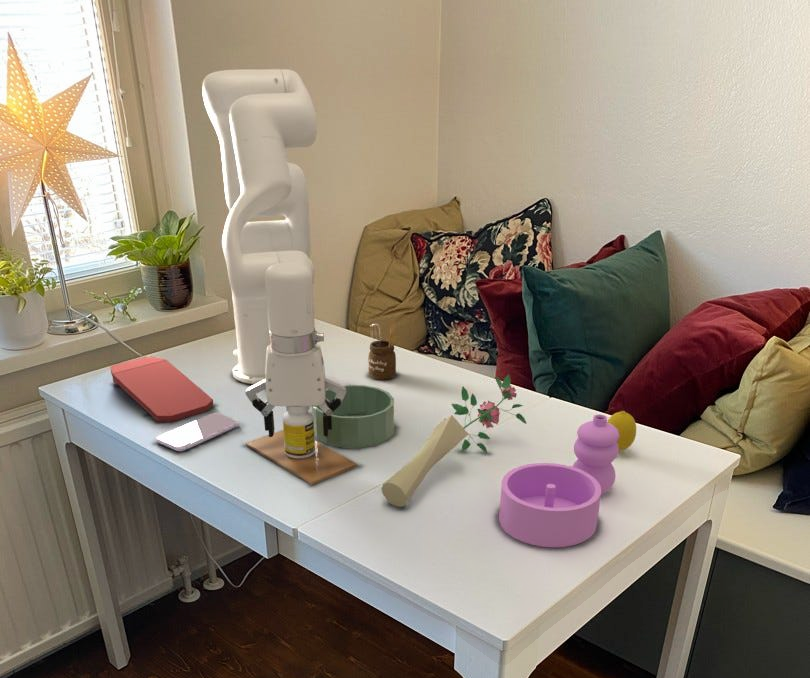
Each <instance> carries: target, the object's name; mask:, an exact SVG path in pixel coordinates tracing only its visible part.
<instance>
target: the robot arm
mask: <svg viewBox="0 0 810 678" xmlns="http://www.w3.org/2000/svg"><path fill="white" fill-rule="evenodd" d="M201 89H202V98H203V103H204V107H205V109H206V112H207V115H208V117H209V119H210V122H211V123H212V125H213V127H214V130H215V132H216V135H217V138H218V141H219V147H220V154H221V155H220V156H221V164H222V166H221V167H222V177H223V185H224V195H225V201H226V205H227V208H228V211H229V213H228V214H227V218H226V220H225V223H224V228H223V233H222V236H221V238H222V239H221V246H222V252H223V256H224V259H225V264H226V270H227V277H228V281H229V286H230V289H231V298H232V307H233V317H234V325H235V336H236V345H237V349H234V350H233V352H232V354H233V355H234V356H235V357H237V364H235V365H234V366H233V368H232V376H233V378H234V379H235V380H237V381H238V382H241V383H244V384H251V386H249V387H247V388H246V390H245V396H246V397H247V399H248V400H249V401H250V403H251V405H252V407H254V408H255V409H256V410H257V411H258V412H260V414H261V416H262V417H263V422H264V431H266V432H268V435H269V437H272V436H273V435H274V433H275V430H276V429H275V415H274V408H276V407H286V406H309V407H312V406H319V408H320V409H321V410H322V411H323V431H324V436H328V430H332V416H331V415H332V413H333V412H334V411H335V410H336V409H337V408H338V407H339V406H340V405H341V402H342V400H343V398H344V397H345V395H346V388H345V387H343V386H344V385H341V384H339V383H337V382H335V381H332V380H330V379H329V378H326V370H325V362H324V356H323V351H322V348H321V345H320V344H319V343H320V342H325V333H324V332H321V333H320V332H318V330H316V326H315V308H314V291H313V289H314V288H313V285H314V282H315V270H314V269H315V268H314V264H313V261H312V259H311V230H310V229H311V227H310V225H311V224H310V204H309V190H308V181H307V179H306V176H305V173H304V170H303V169H302V168H301V167H300V166H299V165H298V164H296V163H293V162H288V157H287V151H286V150H287V149H291V148H292V149H294V148H295V149H296V148H308V147H311V146H312V145H313V144H314V143H315V142H316V139H317V134H318V119H317V112H316V109H315V105H314V102H313V100H312V97H311V95H310V93H309V91H308V89H307V87H306V85H305V83H304V81H303V79H302V77H301V76H300V74H299V73H297V71H295V70H292V69H289V68H288V69H287V68H285V69H284V68H265V69H259V68H258V69H255V68H254V69H253V68H252V69H251V68H248V69H247V68H246V69H245V68H244V69H243V68H242V69H225V70H223V69H222V70H217V71H213V72H211V73H209V74H207V75H206V76H205V77H204V78H203V80H202V86H201ZM278 216H283V217H285V219H279V220H278V219H277V220H259V221H258V220H257V221H250V220H251V219H253V218H260V217H278ZM326 389H328V390H331V391H333V392H335V393H336V394H337V395H336V397H335V398H334V399H333V400H332V401H331V402H330V401H329V400H328V399H327V398H326V397H325V395H326ZM262 391H265V395H266V396H265V397H266V401H265V402H264V401H263V400H262V398H260V397H259V396H258V395H257V394H259V393H261V392H262Z"/></svg>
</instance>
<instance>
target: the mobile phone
mask: <svg viewBox="0 0 810 678" xmlns="http://www.w3.org/2000/svg"><path fill="white" fill-rule="evenodd" d="M239 426H240V422H239V420H237V419H234V418H231V417H229V416H226V415H224V414H221V413H218V412H212V413H210V414H207V415H205V416H203V417H200V418H198V419H195V420H193V421H191V422H189V423H186V424H184V425H182V426H179V427H176V428H174V429H173V430H170V431H167V432H165V433H163V434H160V435H158V436H157V437H156V438H155V441H156V442H157V443H158V444H160V445H162V446H165V447H167V448H169V449H172V450H174V451H177V452H185V451H186V450H189V449H191V448H194V447H196V446H198V445H200V444H203V443H204V442H206V441H209V440H211V439H213V438H215V437H217V436H220V435H223V434H224V433H227V432H229V431H231V430H234V429H235V428H238V427H239Z"/></svg>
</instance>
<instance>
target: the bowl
mask: <svg viewBox="0 0 810 678" xmlns="http://www.w3.org/2000/svg"><path fill="white" fill-rule="evenodd" d="M342 386H343V387H345V388H346V395H345V397H344V398H343V400H342V402H341V405H340V406H339V407H338V408H337V409H336V410H335V411H334V412H333V413H332V415H331V416H332V430H328V436H324V431H323V411H322V410H321V409H320V408H319V406H311V413H312V415H313V418H314V437H315V439H317V440H318V441H320V442H322V443H324V444H326V445H328V446H333V447H336V448H337V447H338V448H341V449H343V448H344V449H346V448H347V449H360V448H368V447H372V446H376V445H379V444H382V443H384V442H386V441H387V440H389V439H390V438H391V437H392V436H393V435H394V433H395V432H394V431H395V398H394V397H393V396H392V394H391V393H390V392H389V391H386V390H384V389H382V388H380V387H376V386H372V385H365V384H347V385H345V384H344V385H342ZM336 395H337V394H336V393H335V392H333V391H331V390H328V389H326V395H325V397H326V398H327V399H328V400H329V401H330V402H331V401H332V400H333V399H334V398H335V397H336ZM348 415H355V416H348ZM357 415H360V416H357Z"/></svg>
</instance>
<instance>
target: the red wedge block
mask: <svg viewBox="0 0 810 678" xmlns="http://www.w3.org/2000/svg"><path fill="white" fill-rule="evenodd" d="M109 368H110V373H111V376H112V382H113V384H115V386H117V387H120V388H121V389H122V390H124V391H125V393H127V394H128V395H129V396H130V397H131V398H132V399H133V400H134V401H135V402H136V403H137V404H139V405H140V406H141V407H142V408H143V409H144V410H145V411H146V412H147V413H148V414H149V415H150V416H151V417H152V418H153V419H155V420H156V421H157V422H158V423H169V422H170V423H171V422H172V423H173V422H175V421H178V420H182V419H185V418H189V417H191V416H196V415H198V414H202V413H205V412H208V410H210V409H211V408H212V407H213V406H214V399H213V398H212V397H211V396H210V395H208V394H207V393H206V392H205V391H204V390H203V389H202V388H200V387H199V386H198V385H197V384H195V382H193V381H192V380H191V379H190V378H189V377H187V376H186V375H185V374H184V373H183V372H182V371H180V370H179V369H178V368H177V367H176V366H175V365H174V364H172V363H171V362H170V361H169V360H168V359H165V358H160V357H156V356H152V355H151V356H143V357H140V358H135V359H131V360H128V361H123V362H120V363H116V364H112V365H110V366H109Z"/></svg>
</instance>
